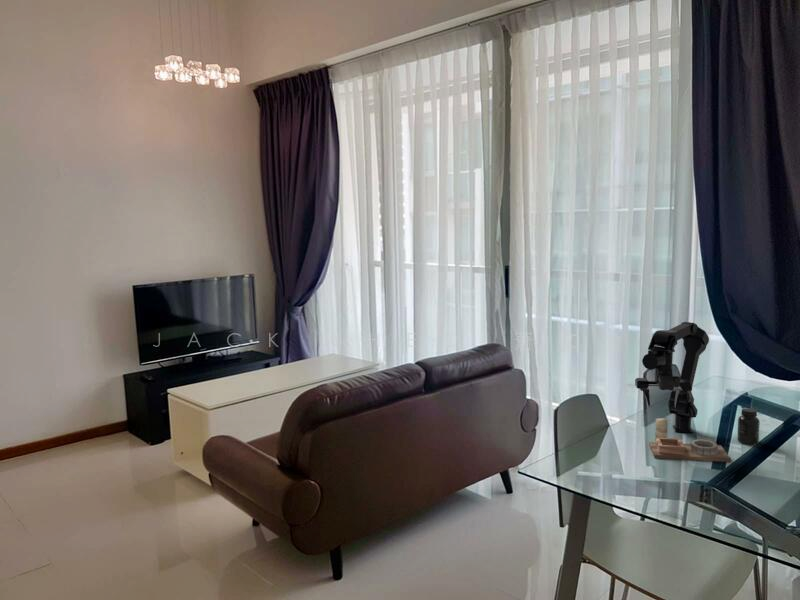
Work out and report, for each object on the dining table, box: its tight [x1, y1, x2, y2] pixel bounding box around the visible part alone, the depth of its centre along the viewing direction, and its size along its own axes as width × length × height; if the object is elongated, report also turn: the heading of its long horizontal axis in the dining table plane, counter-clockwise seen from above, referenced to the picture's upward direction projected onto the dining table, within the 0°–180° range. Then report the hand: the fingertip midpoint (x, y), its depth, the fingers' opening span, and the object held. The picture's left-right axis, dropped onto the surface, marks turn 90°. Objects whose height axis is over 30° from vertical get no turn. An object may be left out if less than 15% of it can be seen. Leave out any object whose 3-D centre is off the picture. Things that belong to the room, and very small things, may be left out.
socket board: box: [648, 437, 731, 463], centre depth 216 cm, size 12×24×4 cm, turn 77°
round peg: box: [654, 417, 668, 439], centre depth 228 cm, size 4×4×8 cm
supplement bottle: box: [736, 407, 761, 446], centre depth 223 cm, size 7×7×12 cm
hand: (662, 406), depth 226 cm, fingers open, 9 cm apart
